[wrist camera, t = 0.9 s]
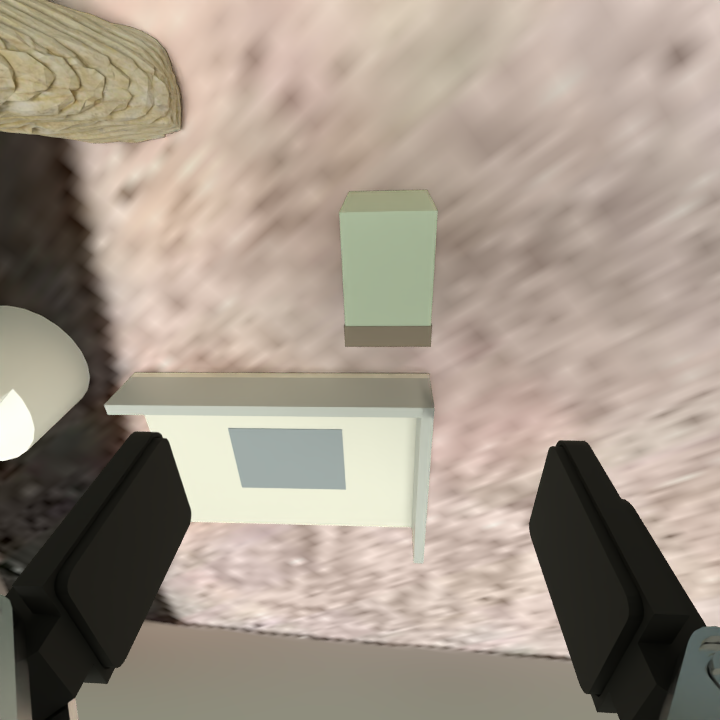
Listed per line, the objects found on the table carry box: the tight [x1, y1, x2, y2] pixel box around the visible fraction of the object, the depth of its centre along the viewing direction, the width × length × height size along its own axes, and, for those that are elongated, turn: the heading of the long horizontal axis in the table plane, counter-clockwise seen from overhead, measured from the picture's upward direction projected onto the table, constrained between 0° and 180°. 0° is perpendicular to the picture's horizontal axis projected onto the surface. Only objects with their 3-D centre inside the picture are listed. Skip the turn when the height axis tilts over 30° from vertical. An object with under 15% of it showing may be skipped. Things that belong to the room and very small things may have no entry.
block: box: [339, 190, 438, 347], centre depth 24 cm, size 5×7×6 cm, turn 2°
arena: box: [104, 373, 434, 563], centre depth 34 cm, size 22×16×4 cm
